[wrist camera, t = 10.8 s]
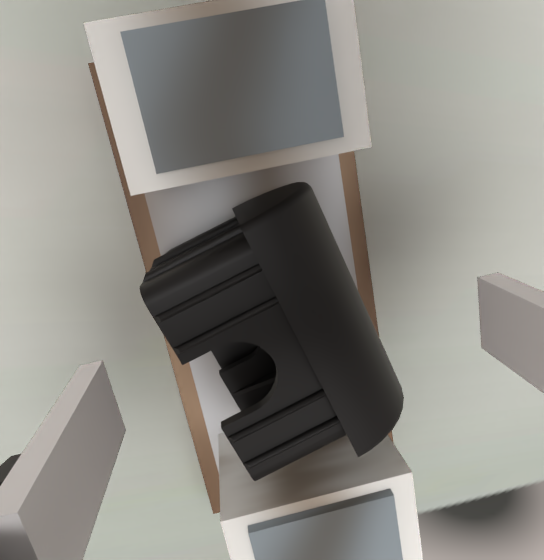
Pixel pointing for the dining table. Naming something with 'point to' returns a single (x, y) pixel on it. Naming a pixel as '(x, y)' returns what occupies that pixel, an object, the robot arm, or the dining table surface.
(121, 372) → the dining table surface
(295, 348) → the end cap
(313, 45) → the rail board
